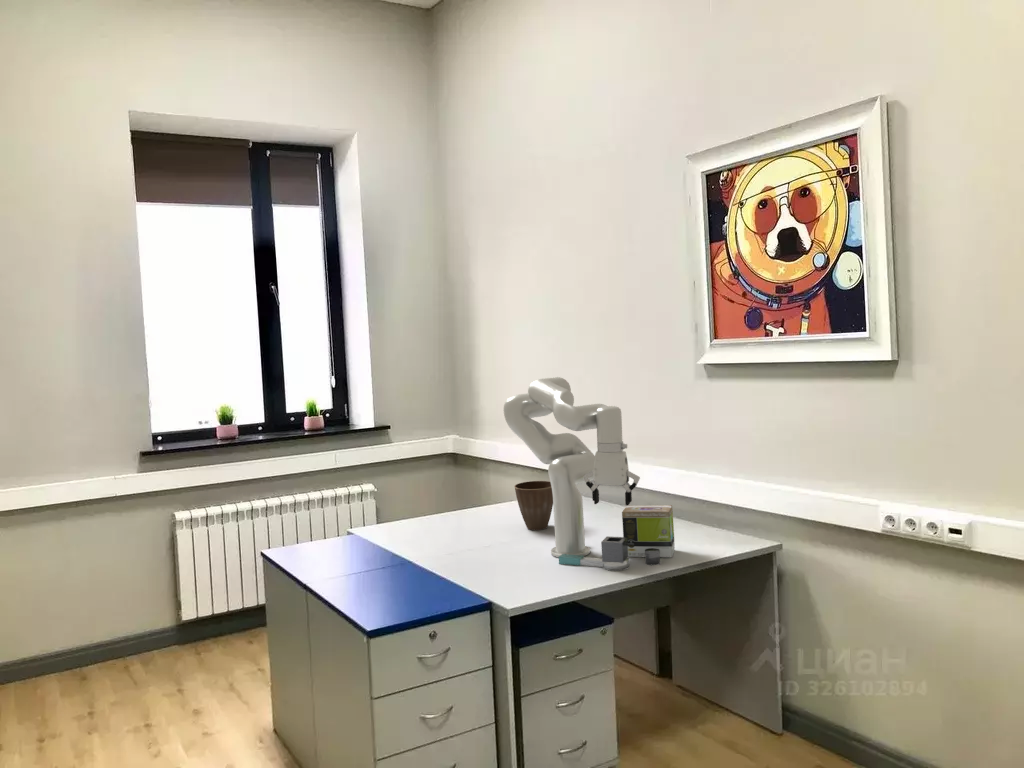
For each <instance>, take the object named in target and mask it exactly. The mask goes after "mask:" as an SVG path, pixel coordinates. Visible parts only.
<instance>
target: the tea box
mask: <svg viewBox="0 0 1024 768" xmlns="http://www.w3.org/2000/svg"><path fill="white" fill-rule="evenodd" d="M621 517H622V535H623V536H622V537H627V543H628V558H630V557H631V558H645V550H646V549H649V548H656V549H659V550H660V558H672V557H673V555H674V552H675V548H676V547H675V529H674V513H673V504H672V505H671V504H668V505H667V504H665V505H664V504H662V505H661V504H659V505H658V504H657V505H656V504H655V505H653V504H652V505H651V504H650V505H637V504H636V505H625V507H624V508H623V510H622V512H621Z"/></svg>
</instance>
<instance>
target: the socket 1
mask: <svg viewBox="0 0 1024 768" xmlns="http://www.w3.org/2000/svg"><path fill="white" fill-rule="evenodd" d="M600 547H601V559H602V562H620V563H623V562H624V561H625V560H626V559H627V557H628V543H627V537H623V536H605V537H604V539H603V540H602V541H601V546H600ZM628 558H629V557H628Z"/></svg>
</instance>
